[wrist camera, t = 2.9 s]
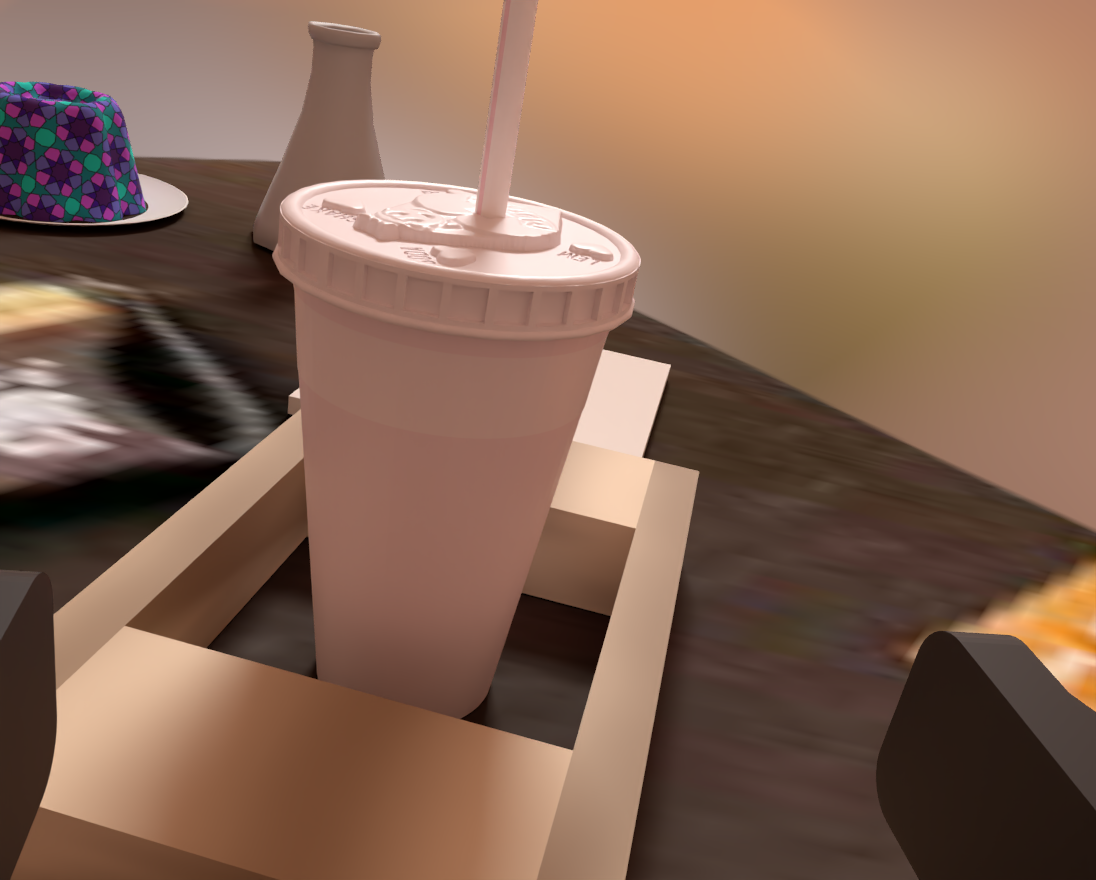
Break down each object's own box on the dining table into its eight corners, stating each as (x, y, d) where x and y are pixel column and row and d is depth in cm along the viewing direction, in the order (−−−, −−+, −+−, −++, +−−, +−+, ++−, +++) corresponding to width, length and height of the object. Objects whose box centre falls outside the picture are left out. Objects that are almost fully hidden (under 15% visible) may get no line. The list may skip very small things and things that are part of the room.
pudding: (235, 233, 51) (239, 122, 48) (-29, 250, 42) (-38, 118, 40) (117, 171, 58) (117, 73, 55) (-130, 176, 49) (-142, 60, 47)
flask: (281, 272, 45) (296, 30, 41) (228, 225, 51) (236, 6, 47) (428, 270, 49) (455, 49, 45) (365, 227, 55) (384, 25, 51)
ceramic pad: (287, 413, 32) (288, 395, 32) (403, 318, 42) (405, 304, 42) (630, 498, 31) (634, 480, 31) (667, 379, 41) (670, 364, 41)
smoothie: (614, 701, 22) (781, 4, 17) (367, 831, 18) (478, -53, 12) (430, 559, 26) (514, -45, 20) (191, 638, 22) (211, -101, 16)
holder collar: (-103, 887, 16) (-119, 758, 14) (324, 462, 30) (332, 382, 29) (572, 1104, 14) (607, 979, 13) (678, 551, 29) (699, 471, 28)
